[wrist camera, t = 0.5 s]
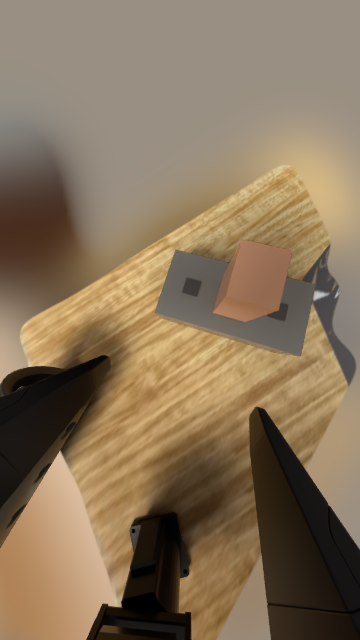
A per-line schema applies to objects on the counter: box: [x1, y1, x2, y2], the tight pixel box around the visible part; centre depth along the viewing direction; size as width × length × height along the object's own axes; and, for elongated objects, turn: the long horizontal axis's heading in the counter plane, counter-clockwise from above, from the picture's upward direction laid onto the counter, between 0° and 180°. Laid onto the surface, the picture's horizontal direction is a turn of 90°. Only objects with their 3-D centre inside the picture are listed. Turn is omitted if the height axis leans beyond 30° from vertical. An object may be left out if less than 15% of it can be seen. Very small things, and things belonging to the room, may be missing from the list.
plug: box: [213, 239, 292, 322], centre depth 17 cm, size 5×4×11 cm
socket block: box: [155, 250, 315, 356], centre depth 21 cm, size 9×18×5 cm, turn 73°
